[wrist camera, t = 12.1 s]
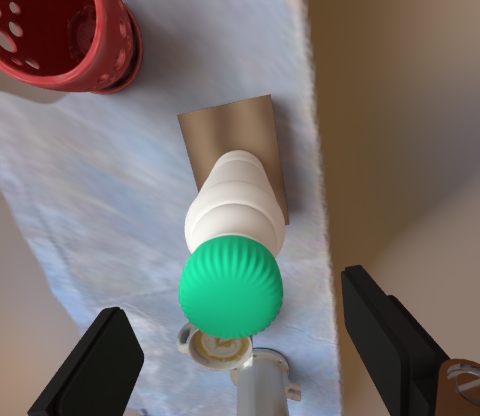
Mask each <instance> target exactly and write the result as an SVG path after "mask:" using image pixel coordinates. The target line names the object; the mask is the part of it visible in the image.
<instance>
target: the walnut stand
mask: <svg viewBox="0 0 480 416" xmlns="http://www.w3.org/2000/svg"><path fill="white" fill-rule="evenodd" d="M177 116H178V120H179V123H180V127H181V131H182V134H183V138H184V141H185V145H186V149H187V152H188V156H189V159H190V163H191V167H192V170H193V174H194V178H195V181H196V185H197V188H198V192H200V190H201V188H202V186H203V185H204V183H205V181H206V180H207V178H208V177H209V175H210V173H211V171H212V169H213V168H214V166H215V164H216V162H217V161H218V159H219V158H220V157H221V156H223V155H224V154H226V153H228V152H230V151H235V150H243V151H247V152H249V153H251V154H253V155H254V156H256V157H257V158H258V159H259V161H260V162H261V164H262V166H263V168H264V171H265V173H266V176H267V179H268V181H269V183H270V185H271V187H272V190H273V192H274V195H275V198H276V202H277V203H278V205H279V207H280V209H281V211H282V213H283V217H284V221H285V225H289V217H288V210H287V203H286V196H285V190H284V183H283V176H282V169H281V162H280V155H279V149H278V142H277V135H276V128H275V121H274V115H273V108H272V101H271V94H270V95H265V96H261V97H256V98H252V99H247V100H243V101H238V102H234V103H229V104H225V105H221V106H216V107H212V108H207V109H203V110H198V111H194V112H189V113H185V114H180V115H177Z"/></svg>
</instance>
